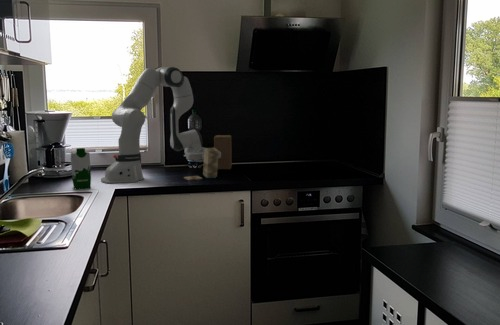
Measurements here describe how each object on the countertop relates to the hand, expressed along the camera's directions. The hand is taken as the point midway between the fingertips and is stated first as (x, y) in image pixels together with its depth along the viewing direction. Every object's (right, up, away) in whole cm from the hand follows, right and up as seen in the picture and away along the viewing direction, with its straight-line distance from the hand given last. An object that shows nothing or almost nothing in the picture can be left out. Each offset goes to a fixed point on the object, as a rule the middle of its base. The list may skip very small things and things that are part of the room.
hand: (208, 157), depth 273 cm
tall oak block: (+1, -11, 0) cm, 11 cm away
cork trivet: (-8, -12, -4) cm, 15 cm away
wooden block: (+6, -7, +30) cm, 32 cm away
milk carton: (-61, -16, -28) cm, 69 cm away
